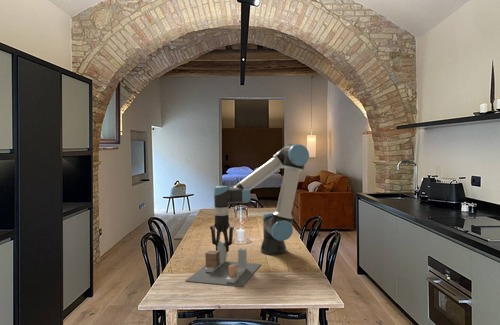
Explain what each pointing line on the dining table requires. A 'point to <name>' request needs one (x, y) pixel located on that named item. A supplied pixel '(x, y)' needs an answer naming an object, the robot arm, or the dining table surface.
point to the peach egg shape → (232, 270)
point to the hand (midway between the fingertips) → (222, 257)
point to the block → (212, 258)
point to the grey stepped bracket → (222, 259)
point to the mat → (223, 275)
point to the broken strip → (239, 265)
